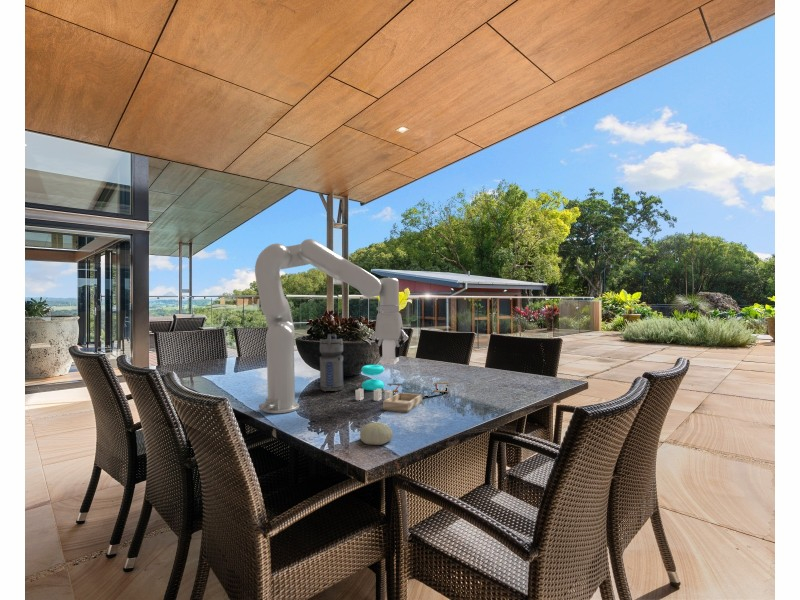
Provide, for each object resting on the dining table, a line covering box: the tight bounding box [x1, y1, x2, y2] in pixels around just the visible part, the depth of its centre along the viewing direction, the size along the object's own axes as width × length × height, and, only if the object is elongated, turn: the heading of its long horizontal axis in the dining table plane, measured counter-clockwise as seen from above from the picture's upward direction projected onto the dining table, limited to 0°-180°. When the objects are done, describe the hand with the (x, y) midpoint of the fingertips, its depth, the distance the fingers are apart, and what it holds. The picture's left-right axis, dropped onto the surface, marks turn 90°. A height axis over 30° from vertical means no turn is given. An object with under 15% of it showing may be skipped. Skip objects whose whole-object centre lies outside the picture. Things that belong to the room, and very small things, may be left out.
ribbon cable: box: [382, 382, 451, 399], centre depth 173 cm, size 29×1×30 cm
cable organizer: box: [380, 340, 400, 366], centre depth 156 cm, size 5×10×10 cm, turn 169°
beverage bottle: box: [319, 333, 345, 392], centre depth 179 cm, size 10×13×25 cm
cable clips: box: [354, 388, 394, 402], centre depth 159 cm, size 5×14×4 cm, turn 67°
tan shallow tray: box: [382, 392, 423, 413], centre depth 150 cm, size 15×10×3 cm, turn 157°
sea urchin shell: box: [359, 421, 394, 446], centre depth 113 cm, size 9×8×8 cm
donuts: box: [361, 364, 385, 391], centre depth 180 cm, size 10×10×10 cm
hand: (389, 356), depth 156 cm, fingers closed on cable organizer, 5 cm apart
